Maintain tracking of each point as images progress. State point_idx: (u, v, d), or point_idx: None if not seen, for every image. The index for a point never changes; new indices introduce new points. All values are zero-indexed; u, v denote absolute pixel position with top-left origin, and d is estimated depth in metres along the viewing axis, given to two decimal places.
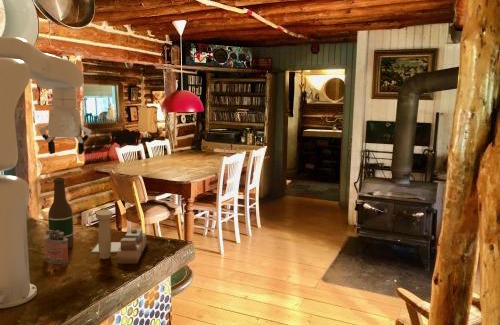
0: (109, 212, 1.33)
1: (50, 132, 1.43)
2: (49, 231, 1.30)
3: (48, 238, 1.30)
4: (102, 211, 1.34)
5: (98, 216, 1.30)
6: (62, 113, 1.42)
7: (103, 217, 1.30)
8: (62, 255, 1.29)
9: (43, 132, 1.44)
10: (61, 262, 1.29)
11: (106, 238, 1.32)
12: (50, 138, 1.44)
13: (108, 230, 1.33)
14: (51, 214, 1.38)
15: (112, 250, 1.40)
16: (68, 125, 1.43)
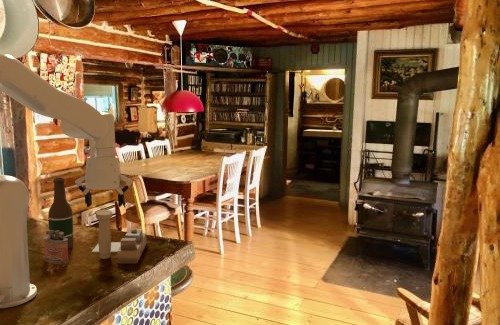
0: (109, 212, 1.33)
1: (87, 184, 1.29)
2: (49, 231, 1.30)
3: (48, 238, 1.30)
4: (102, 211, 1.34)
5: (98, 216, 1.30)
6: (100, 163, 1.28)
7: (103, 217, 1.30)
8: (62, 255, 1.29)
9: (79, 183, 1.30)
10: (61, 262, 1.29)
11: (106, 238, 1.32)
12: (87, 190, 1.30)
13: (108, 230, 1.33)
14: (52, 214, 1.38)
15: (112, 250, 1.40)
16: (107, 176, 1.29)
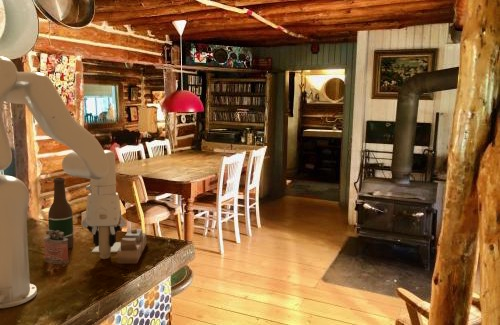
0: None
1: (88, 221, 1.30)
2: (49, 231, 1.30)
3: (48, 238, 1.30)
4: None
5: None
6: (101, 201, 1.29)
7: (103, 217, 1.30)
8: (62, 255, 1.29)
9: (86, 224, 1.32)
10: (61, 262, 1.29)
11: (106, 238, 1.32)
12: (94, 229, 1.32)
13: (108, 230, 1.33)
14: (52, 214, 1.38)
15: (112, 250, 1.40)
16: (107, 213, 1.30)
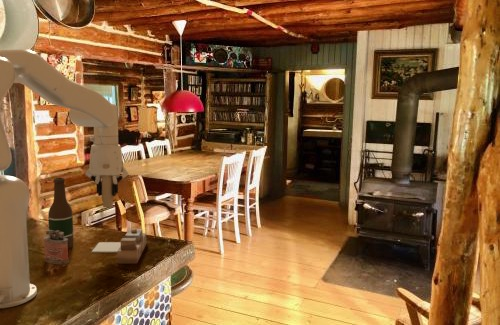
0: None
1: (91, 170, 1.37)
2: (49, 231, 1.30)
3: (48, 238, 1.30)
4: None
5: None
6: (104, 151, 1.36)
7: (106, 166, 1.36)
8: (62, 255, 1.29)
9: (90, 174, 1.39)
10: (61, 262, 1.29)
11: (108, 188, 1.39)
12: (97, 179, 1.39)
13: (111, 180, 1.39)
14: (52, 214, 1.38)
15: (112, 250, 1.40)
16: (110, 163, 1.37)
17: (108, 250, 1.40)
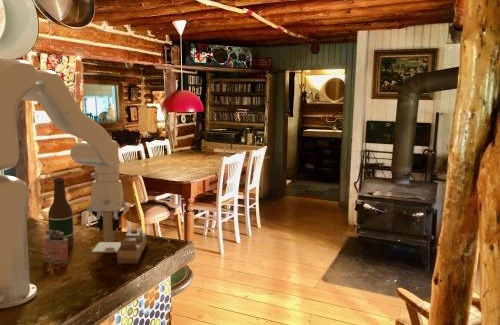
0: None
1: (93, 206, 1.38)
2: (49, 231, 1.30)
3: (48, 238, 1.30)
4: None
5: None
6: (105, 187, 1.38)
7: (107, 203, 1.38)
8: (62, 255, 1.29)
9: (91, 209, 1.41)
10: (61, 262, 1.29)
11: (109, 223, 1.41)
12: (98, 214, 1.40)
13: (112, 215, 1.41)
14: (52, 214, 1.38)
15: (112, 250, 1.40)
16: (111, 199, 1.38)
17: (108, 250, 1.40)
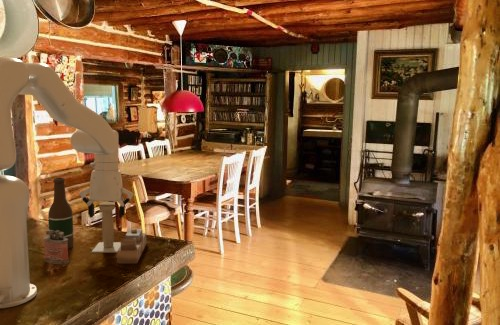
0: (112, 204, 1.41)
1: (91, 196, 1.37)
2: (49, 231, 1.30)
3: (48, 238, 1.30)
4: (105, 203, 1.42)
5: (102, 208, 1.39)
6: (104, 177, 1.37)
7: (106, 209, 1.38)
8: (62, 255, 1.29)
9: (83, 195, 1.39)
10: (61, 262, 1.29)
11: (109, 229, 1.41)
12: (91, 201, 1.39)
13: (111, 221, 1.41)
14: (52, 214, 1.38)
15: (112, 250, 1.40)
16: (110, 189, 1.38)
17: (108, 250, 1.40)
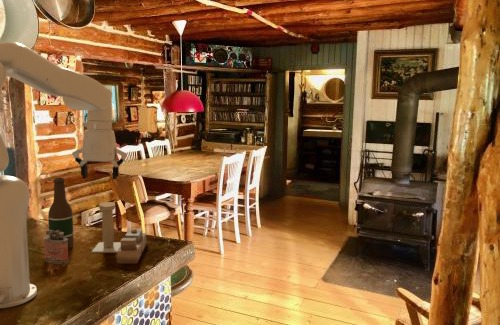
0: (112, 204, 1.41)
1: (84, 155, 1.34)
2: (49, 231, 1.30)
3: (48, 238, 1.30)
4: (105, 203, 1.42)
5: (102, 208, 1.39)
6: (97, 136, 1.34)
7: (106, 209, 1.38)
8: (62, 255, 1.29)
9: (76, 155, 1.36)
10: (61, 262, 1.29)
11: (109, 229, 1.41)
12: (83, 162, 1.36)
13: (111, 221, 1.41)
14: (52, 214, 1.38)
15: (112, 250, 1.40)
16: (103, 148, 1.34)
17: (108, 250, 1.40)
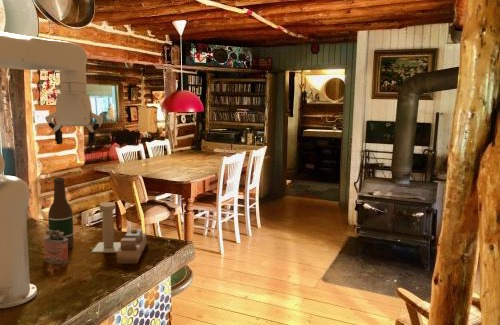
0: (112, 204, 1.42)
1: (57, 120, 1.28)
2: (49, 231, 1.30)
3: (48, 238, 1.30)
4: (106, 203, 1.42)
5: (102, 207, 1.39)
6: (70, 99, 1.27)
7: (107, 208, 1.38)
8: (62, 255, 1.29)
9: (49, 120, 1.30)
10: (61, 262, 1.29)
11: (109, 229, 1.41)
12: (57, 127, 1.29)
13: (111, 221, 1.41)
14: (52, 214, 1.38)
15: (112, 250, 1.40)
16: (77, 112, 1.28)
17: (108, 250, 1.40)
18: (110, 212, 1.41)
